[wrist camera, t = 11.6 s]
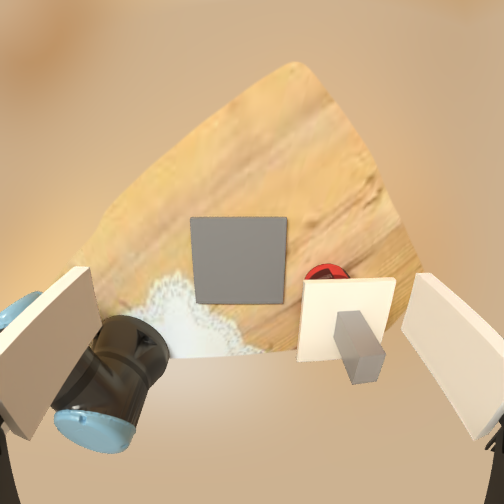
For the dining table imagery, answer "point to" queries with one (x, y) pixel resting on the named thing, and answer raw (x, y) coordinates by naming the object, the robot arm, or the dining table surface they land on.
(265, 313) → the dining table surface
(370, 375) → the lid
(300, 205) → the dining table surface
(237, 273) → the mat
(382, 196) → the dining table surface
